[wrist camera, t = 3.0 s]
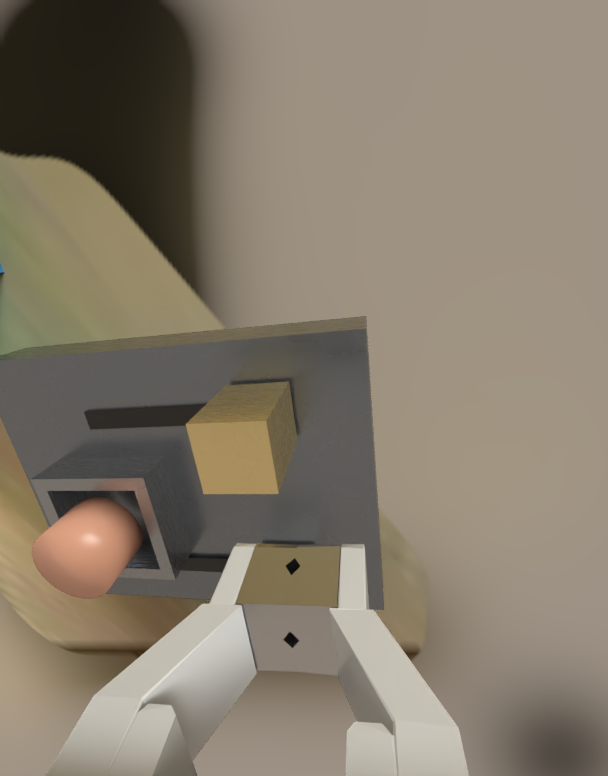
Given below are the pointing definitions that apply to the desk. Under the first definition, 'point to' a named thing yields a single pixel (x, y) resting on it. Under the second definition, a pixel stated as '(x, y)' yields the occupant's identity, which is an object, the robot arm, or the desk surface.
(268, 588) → the robot arm
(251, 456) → the brass slider
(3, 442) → the desk surface
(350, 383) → the console
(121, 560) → the push button
